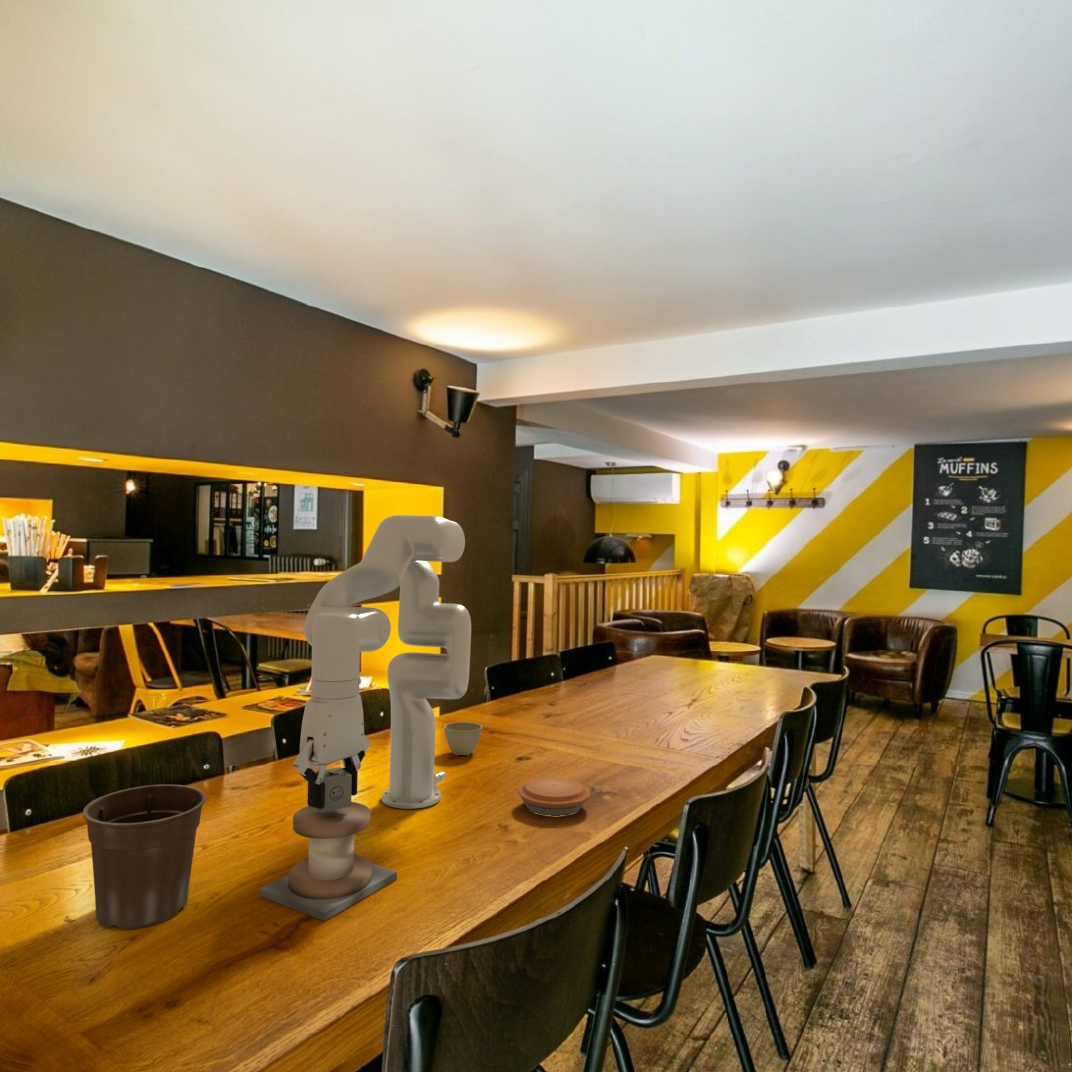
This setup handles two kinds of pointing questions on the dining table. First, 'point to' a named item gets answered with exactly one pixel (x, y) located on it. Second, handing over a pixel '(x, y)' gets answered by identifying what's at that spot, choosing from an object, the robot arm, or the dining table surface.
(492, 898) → the dining table surface
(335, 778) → the dice cube
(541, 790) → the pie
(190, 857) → the plant pot
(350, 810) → the bobbin
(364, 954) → the dining table surface
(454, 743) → the flower pot
